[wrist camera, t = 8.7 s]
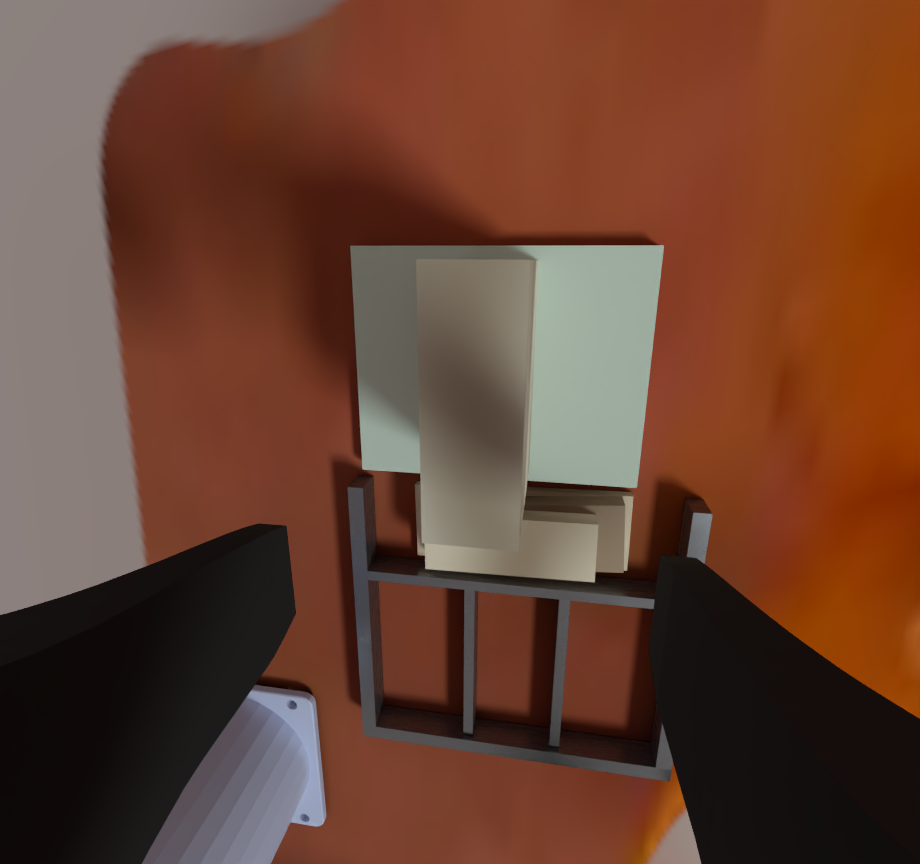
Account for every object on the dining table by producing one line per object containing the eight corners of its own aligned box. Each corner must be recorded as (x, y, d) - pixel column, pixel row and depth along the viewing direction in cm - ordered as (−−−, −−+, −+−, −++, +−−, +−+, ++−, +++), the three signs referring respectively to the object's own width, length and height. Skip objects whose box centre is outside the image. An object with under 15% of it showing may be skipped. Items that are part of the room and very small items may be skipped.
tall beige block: (460, 462, 20) (421, 543, 14) (460, 260, 17) (415, 259, 12) (529, 466, 19) (518, 551, 14) (538, 260, 17) (530, 259, 11)
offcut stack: (422, 545, 22) (407, 577, 20) (419, 477, 21) (403, 502, 19) (624, 559, 21) (632, 595, 18) (630, 488, 20) (640, 516, 18)
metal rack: (372, 714, 25) (363, 735, 24) (358, 475, 21) (347, 487, 20) (663, 755, 23) (669, 781, 22) (703, 499, 19) (712, 513, 18)
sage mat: (367, 463, 21) (362, 469, 20) (356, 246, 18) (350, 245, 18) (634, 481, 19) (636, 488, 19) (660, 245, 17) (663, 245, 16)
